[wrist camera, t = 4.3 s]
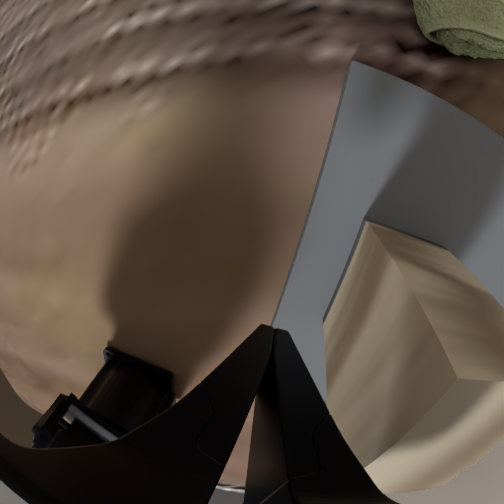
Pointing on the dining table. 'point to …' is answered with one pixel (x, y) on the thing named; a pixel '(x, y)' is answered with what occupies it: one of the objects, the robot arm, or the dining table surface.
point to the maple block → (413, 360)
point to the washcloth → (464, 25)
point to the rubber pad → (394, 195)
